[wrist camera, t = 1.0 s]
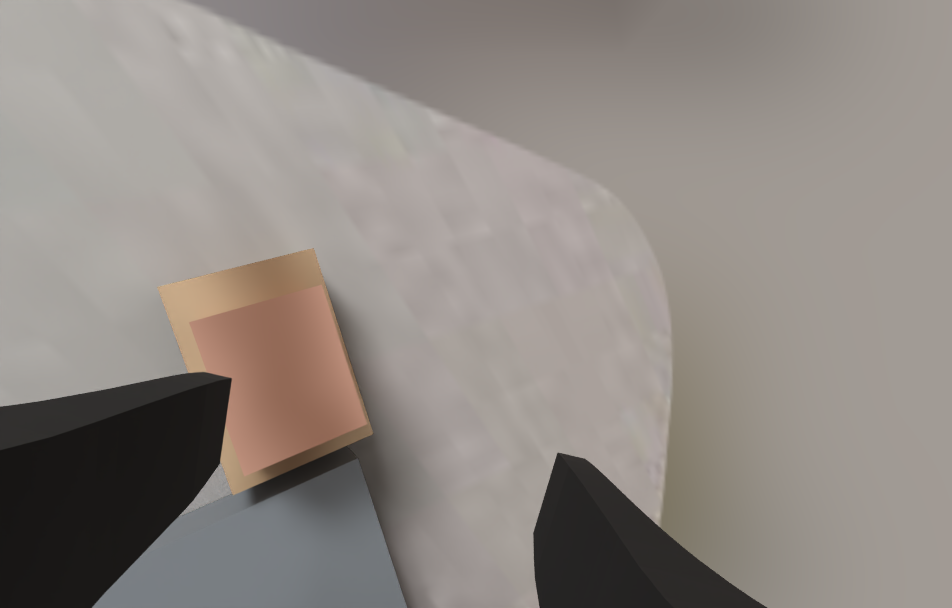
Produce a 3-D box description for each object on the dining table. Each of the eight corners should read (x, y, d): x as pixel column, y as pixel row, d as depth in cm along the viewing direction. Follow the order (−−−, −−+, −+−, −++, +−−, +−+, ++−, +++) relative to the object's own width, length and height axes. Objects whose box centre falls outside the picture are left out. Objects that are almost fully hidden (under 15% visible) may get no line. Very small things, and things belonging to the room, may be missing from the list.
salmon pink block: (241, 449, 18) (244, 476, 15) (195, 321, 18) (189, 322, 15) (345, 407, 20) (367, 424, 17) (306, 289, 20) (321, 284, 16)
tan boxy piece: (231, 469, 21) (232, 495, 18) (167, 291, 20) (157, 287, 17) (354, 418, 24) (373, 433, 21) (301, 257, 23) (313, 248, 20)
